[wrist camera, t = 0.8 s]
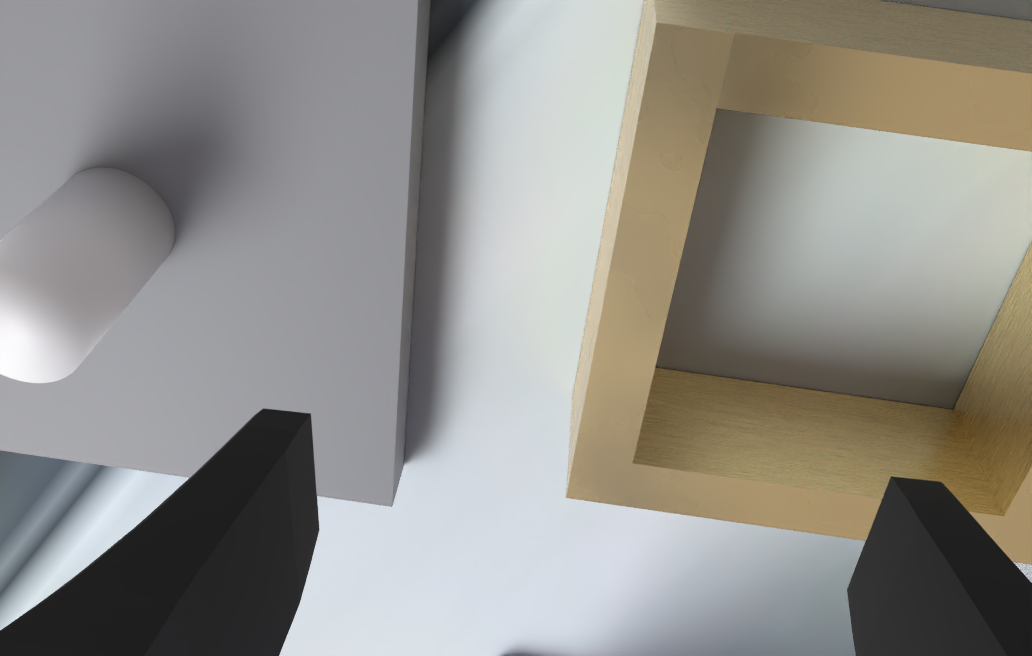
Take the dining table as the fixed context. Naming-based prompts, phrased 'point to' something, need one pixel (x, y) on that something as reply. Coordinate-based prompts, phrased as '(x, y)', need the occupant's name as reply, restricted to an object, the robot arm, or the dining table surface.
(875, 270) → the dining table surface
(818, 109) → the gold square frame
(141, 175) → the grey piece
